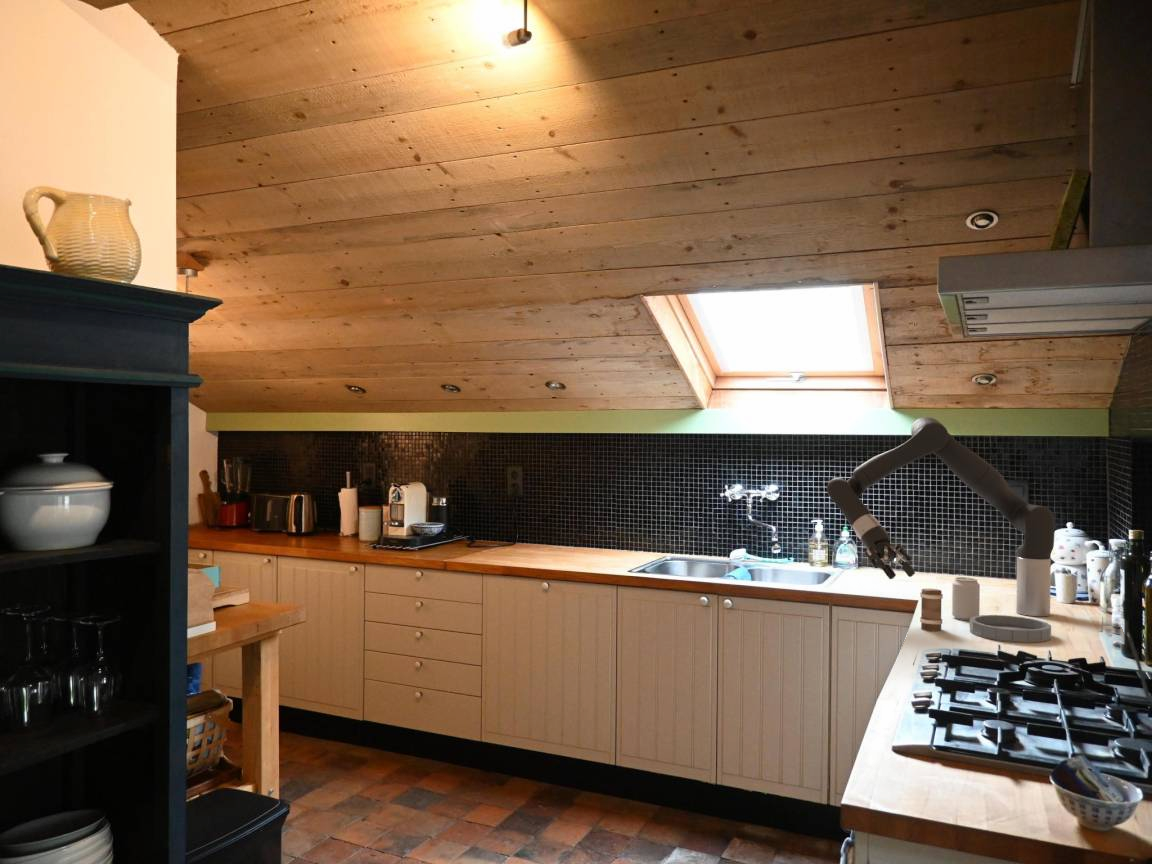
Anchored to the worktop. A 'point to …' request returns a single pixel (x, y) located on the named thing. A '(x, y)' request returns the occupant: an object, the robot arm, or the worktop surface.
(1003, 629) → the round tray
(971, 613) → the wide mouth jar
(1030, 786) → the worktop surface
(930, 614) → the brown banded canister
